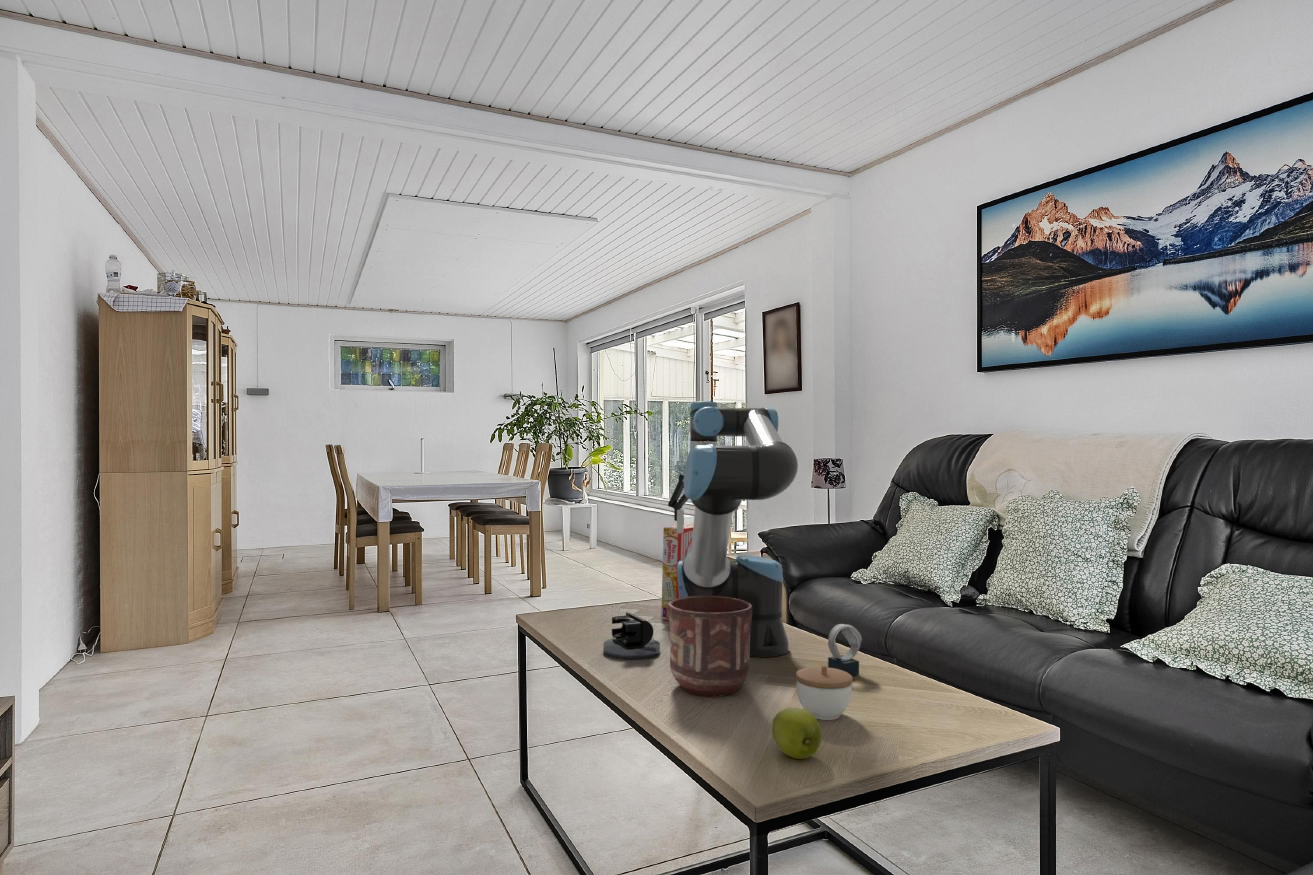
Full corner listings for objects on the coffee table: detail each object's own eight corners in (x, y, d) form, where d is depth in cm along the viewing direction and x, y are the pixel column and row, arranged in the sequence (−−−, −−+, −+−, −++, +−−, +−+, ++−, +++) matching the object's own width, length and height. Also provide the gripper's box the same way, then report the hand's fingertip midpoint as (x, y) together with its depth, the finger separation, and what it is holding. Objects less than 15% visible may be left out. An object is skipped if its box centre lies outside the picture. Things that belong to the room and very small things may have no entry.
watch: (865, 673, 177) (866, 625, 177) (838, 678, 173) (839, 629, 173) (848, 667, 182) (849, 620, 182) (821, 671, 178) (822, 623, 178)
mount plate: (669, 649, 195) (669, 641, 195) (642, 662, 182) (642, 654, 182) (622, 641, 202) (622, 633, 202) (592, 654, 189) (592, 645, 189)
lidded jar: (841, 728, 143) (842, 678, 143) (786, 716, 148) (787, 668, 148) (859, 711, 152) (859, 664, 152) (807, 701, 158) (808, 655, 158)
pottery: (706, 669, 178) (706, 591, 178) (767, 688, 165) (768, 603, 165) (650, 687, 166) (651, 603, 165) (712, 708, 153) (713, 617, 153)
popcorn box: (678, 622, 224) (680, 528, 224) (660, 619, 227) (661, 527, 227) (710, 609, 241) (711, 522, 241) (692, 607, 244) (694, 521, 244)
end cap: (653, 647, 189) (654, 619, 189) (627, 650, 186) (627, 622, 186) (636, 637, 198) (636, 610, 198) (610, 640, 195) (611, 613, 195)
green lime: (793, 771, 124) (794, 721, 124) (762, 750, 132) (762, 703, 132) (832, 763, 127) (833, 714, 127) (799, 743, 136) (800, 697, 136)
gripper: (750, 458, 210) (749, 536, 210) (669, 456, 222) (668, 530, 222) (740, 459, 203) (738, 539, 203) (657, 456, 216) (655, 532, 216)
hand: (702, 534), depth 213 cm, fingers open, 13 cm apart
